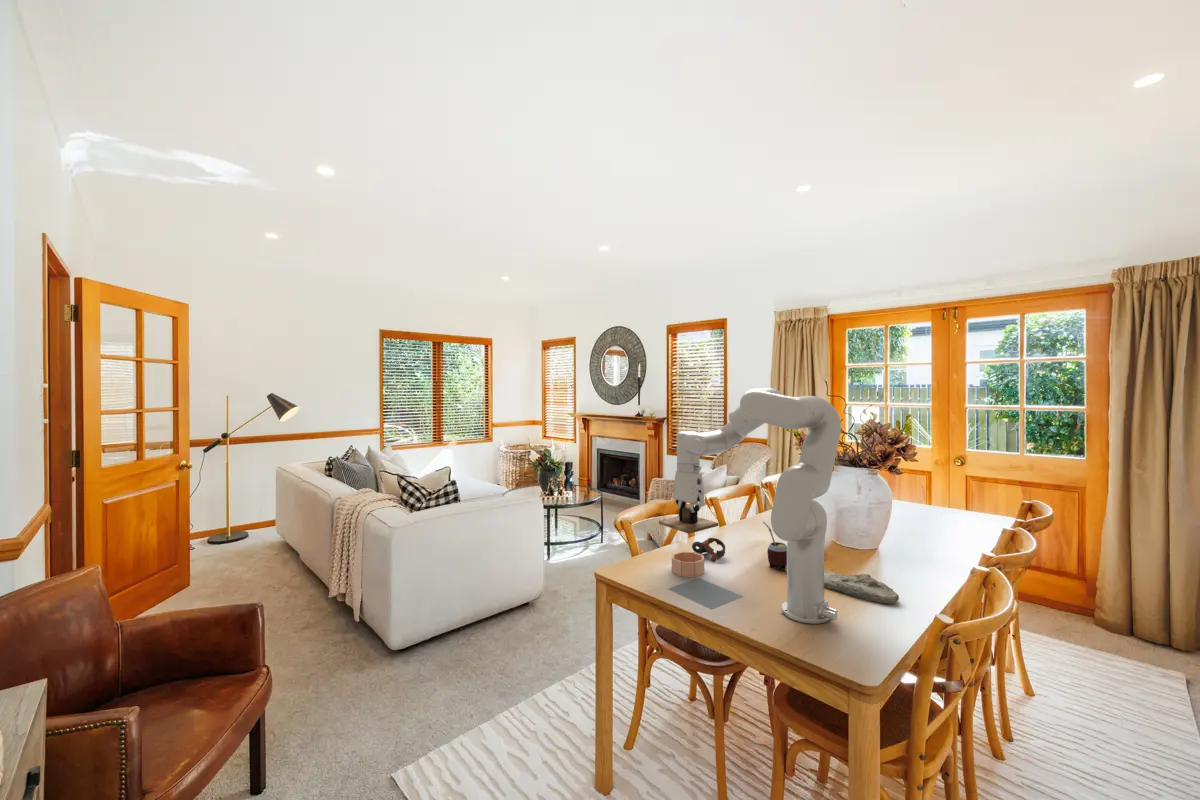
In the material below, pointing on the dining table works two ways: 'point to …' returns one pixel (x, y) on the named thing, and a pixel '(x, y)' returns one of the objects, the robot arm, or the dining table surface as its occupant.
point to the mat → (705, 593)
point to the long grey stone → (859, 587)
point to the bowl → (688, 564)
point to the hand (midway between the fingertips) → (688, 521)
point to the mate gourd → (777, 553)
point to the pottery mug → (709, 548)
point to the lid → (688, 523)
